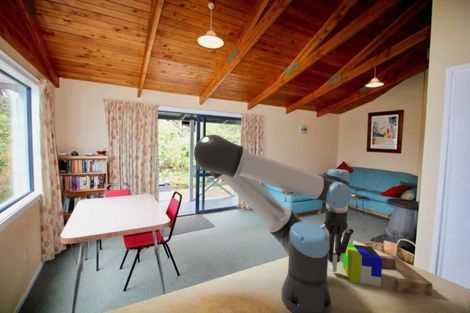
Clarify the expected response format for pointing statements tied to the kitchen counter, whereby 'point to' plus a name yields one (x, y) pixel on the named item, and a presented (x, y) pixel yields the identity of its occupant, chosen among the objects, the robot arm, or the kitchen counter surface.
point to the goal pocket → (407, 277)
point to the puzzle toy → (362, 264)
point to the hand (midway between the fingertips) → (333, 269)
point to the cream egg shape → (342, 253)
